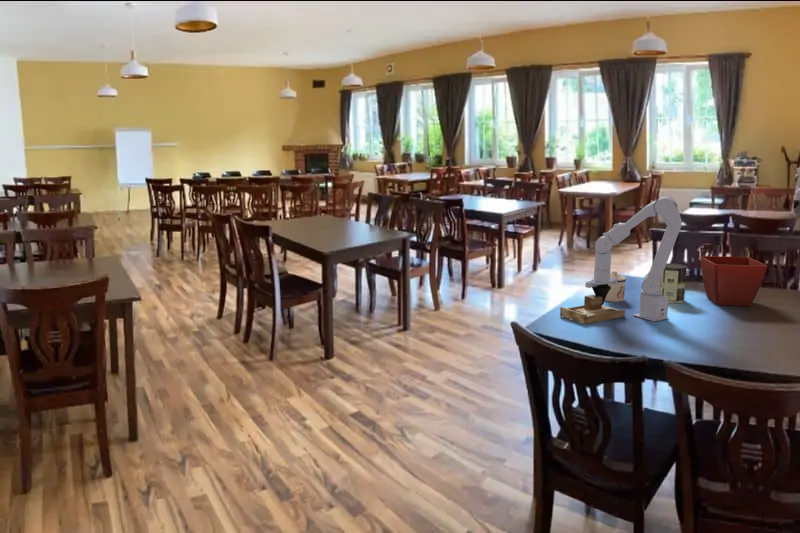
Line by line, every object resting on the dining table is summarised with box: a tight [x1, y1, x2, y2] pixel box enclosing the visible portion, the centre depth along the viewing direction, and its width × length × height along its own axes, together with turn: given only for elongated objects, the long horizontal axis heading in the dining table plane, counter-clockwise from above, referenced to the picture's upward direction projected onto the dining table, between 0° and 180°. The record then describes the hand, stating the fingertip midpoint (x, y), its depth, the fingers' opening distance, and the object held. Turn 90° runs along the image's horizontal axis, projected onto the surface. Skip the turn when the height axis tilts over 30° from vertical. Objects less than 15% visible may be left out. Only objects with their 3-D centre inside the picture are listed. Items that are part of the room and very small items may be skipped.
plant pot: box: [699, 255, 768, 307], centre depth 275 cm, size 19×19×17 cm
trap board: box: [559, 304, 626, 325], centre depth 255 cm, size 12×20×4 cm, turn 121°
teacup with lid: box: [605, 270, 627, 303], centre depth 281 cm, size 12×9×12 cm
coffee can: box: [660, 262, 688, 304], centre depth 279 cm, size 10×10×14 cm
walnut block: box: [583, 294, 602, 310], centre depth 259 cm, size 4×4×4 cm
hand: (600, 304), depth 261 cm, fingers closed
